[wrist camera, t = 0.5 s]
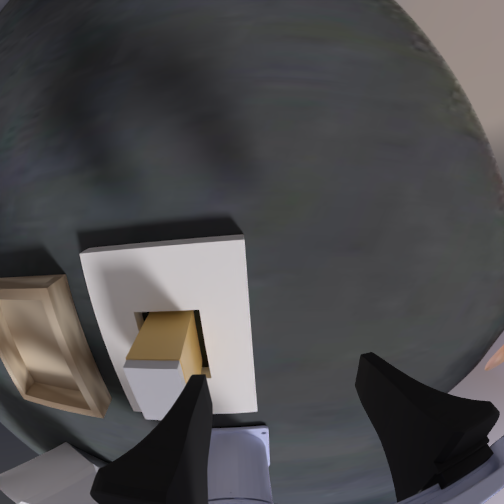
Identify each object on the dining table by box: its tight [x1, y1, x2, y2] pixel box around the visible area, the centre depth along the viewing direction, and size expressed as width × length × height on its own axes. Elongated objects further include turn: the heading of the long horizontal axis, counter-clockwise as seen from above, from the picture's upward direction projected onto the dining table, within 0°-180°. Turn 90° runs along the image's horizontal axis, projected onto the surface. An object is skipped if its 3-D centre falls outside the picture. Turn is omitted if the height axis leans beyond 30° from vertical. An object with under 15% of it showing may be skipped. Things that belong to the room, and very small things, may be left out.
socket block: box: [80, 234, 257, 414], centre depth 21 cm, size 16×12×2 cm
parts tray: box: [0, 274, 112, 418], centre depth 20 cm, size 14×12×3 cm
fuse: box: [123, 310, 203, 420], centre depth 18 cm, size 5×4×7 cm
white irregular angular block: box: [0, 442, 109, 504], centre depth 20 cm, size 17×24×17 cm
